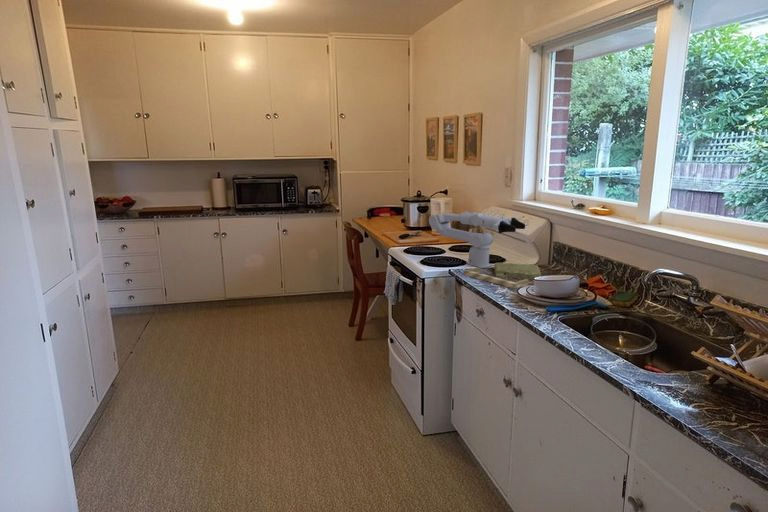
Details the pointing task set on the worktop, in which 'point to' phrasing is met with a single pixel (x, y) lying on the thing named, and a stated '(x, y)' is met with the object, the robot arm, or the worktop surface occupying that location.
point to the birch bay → (494, 279)
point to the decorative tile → (516, 270)
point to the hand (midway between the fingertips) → (520, 228)
